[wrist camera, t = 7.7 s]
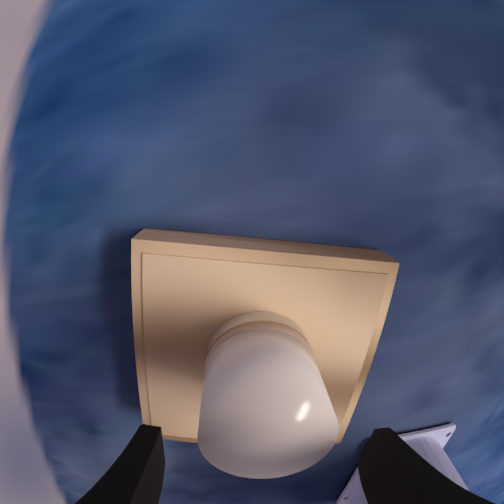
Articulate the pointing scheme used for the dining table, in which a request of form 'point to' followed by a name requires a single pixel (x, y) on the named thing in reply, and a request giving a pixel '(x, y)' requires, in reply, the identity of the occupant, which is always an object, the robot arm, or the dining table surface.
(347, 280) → the base board
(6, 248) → the dining table surface
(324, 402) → the pot
